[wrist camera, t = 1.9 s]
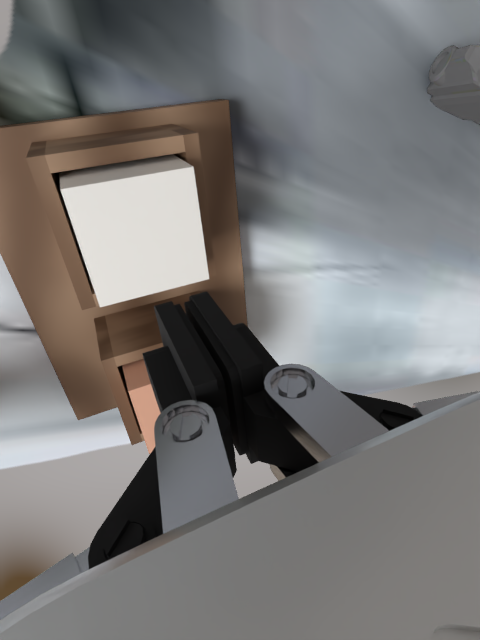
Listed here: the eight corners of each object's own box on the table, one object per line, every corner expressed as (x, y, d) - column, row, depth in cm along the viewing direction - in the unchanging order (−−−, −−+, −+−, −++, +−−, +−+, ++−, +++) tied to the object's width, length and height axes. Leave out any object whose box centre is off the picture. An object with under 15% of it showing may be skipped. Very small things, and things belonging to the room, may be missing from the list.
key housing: (220, 99, 26) (265, 103, 20) (244, 353, 38) (276, 399, 32) (-49, 131, 21) (-85, 149, 16) (77, 408, 33) (81, 472, 28)
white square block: (168, 151, 22) (193, 166, 18) (185, 248, 25) (209, 279, 21) (59, 168, 20) (60, 189, 16) (92, 270, 24) (100, 307, 20)
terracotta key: (198, 322, 29) (220, 361, 25) (208, 381, 32) (229, 423, 28) (117, 346, 27) (128, 391, 23) (136, 405, 30) (149, 453, 26)
